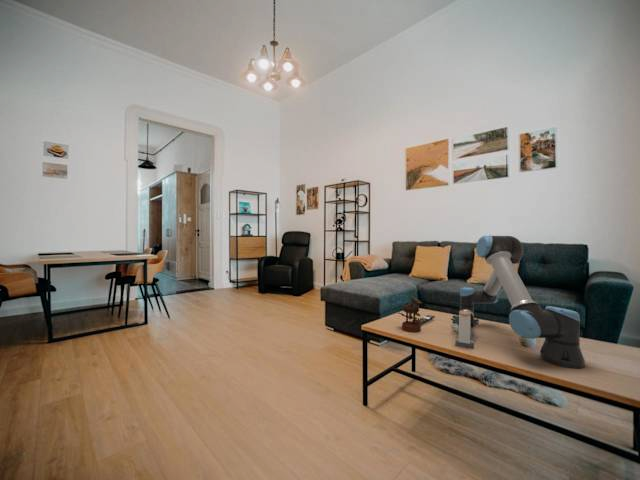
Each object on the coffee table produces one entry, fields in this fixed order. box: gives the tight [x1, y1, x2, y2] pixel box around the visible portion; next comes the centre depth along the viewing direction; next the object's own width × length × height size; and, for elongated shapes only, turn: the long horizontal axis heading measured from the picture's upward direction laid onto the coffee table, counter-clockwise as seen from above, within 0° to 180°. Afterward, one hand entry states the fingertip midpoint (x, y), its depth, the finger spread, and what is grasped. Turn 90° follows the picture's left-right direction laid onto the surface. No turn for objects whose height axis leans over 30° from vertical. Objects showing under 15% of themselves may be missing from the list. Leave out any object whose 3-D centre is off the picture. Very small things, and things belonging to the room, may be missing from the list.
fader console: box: [454, 331, 475, 350], centre depth 148 cm, size 18×8×2 cm, turn 151°
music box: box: [397, 295, 423, 334], centre depth 167 cm, size 15×11×20 cm
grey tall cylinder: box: [458, 310, 471, 344], centre depth 142 cm, size 5×5×15 cm
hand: (464, 327), depth 145 cm, fingers closed
